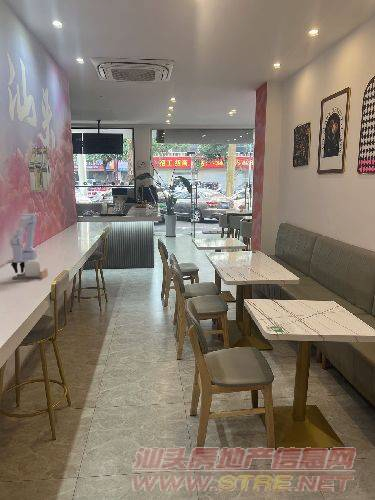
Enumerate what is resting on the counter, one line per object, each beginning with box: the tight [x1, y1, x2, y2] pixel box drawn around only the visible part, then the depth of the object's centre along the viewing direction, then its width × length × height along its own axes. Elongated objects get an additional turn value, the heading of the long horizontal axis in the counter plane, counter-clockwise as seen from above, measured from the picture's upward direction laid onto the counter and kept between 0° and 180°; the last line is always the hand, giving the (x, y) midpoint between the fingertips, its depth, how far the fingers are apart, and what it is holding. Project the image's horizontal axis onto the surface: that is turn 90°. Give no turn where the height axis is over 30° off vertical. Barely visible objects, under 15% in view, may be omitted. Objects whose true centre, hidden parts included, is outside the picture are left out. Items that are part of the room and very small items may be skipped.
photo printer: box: [24, 259, 41, 277], centre depth 278 cm, size 10×4×12 cm, turn 104°
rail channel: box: [12, 268, 48, 280], centre depth 278 cm, size 10×22×5 cm, turn 90°
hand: (19, 272), depth 278 cm, fingers open, 4 cm apart
